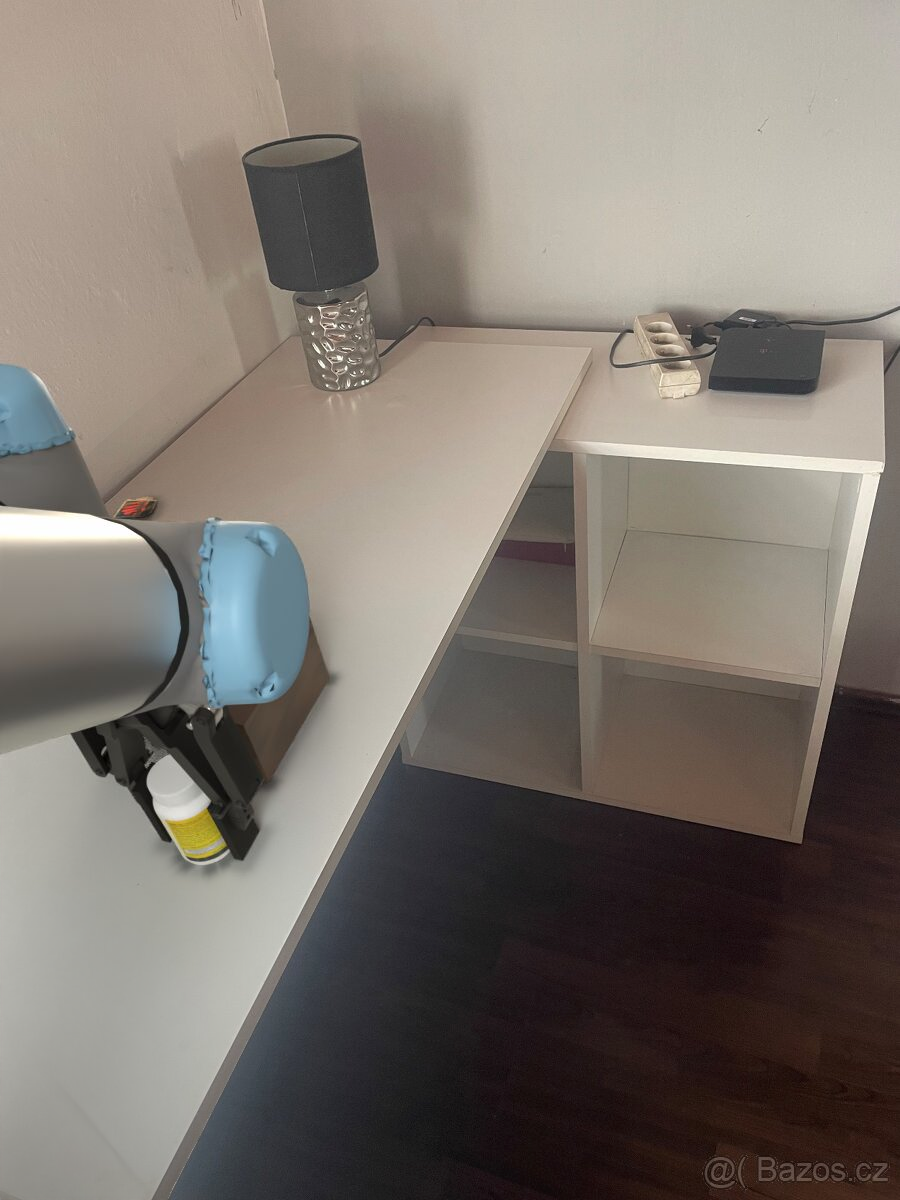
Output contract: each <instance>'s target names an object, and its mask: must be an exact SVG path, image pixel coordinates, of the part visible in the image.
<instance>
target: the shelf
mask: <svg viewBox="0 0 900 1200" xmlns="http://www.w3.org/2000/svg"><path fill="white" fill-rule="evenodd" d="M329 680H330V673H329V671H328V669H327V666H326V662H325V659H324V656H323V652H322V650H321V646H320V643H319V641H318V638H317V634H316V632H315V628H314V625H313V622H312V619H311V616H310V614H309V635H308V641H307V647H306V652H305V656H304V660H303V663H302V666H301V669H300V671H299V674H298V676H297V677H296V679H295V681H294V682H293V684H292V685H291V687H290V688H289V689H288V690H287V691H286V692H285V693H284V694H283V695H282V696H281V697H279V698H278V699H275V700H273V701H270V702H267V703H258V704H237V705H229V713H230V715H231V717H232V718H233V720H234V722H235V724H236V726H237V728H238V730H239V732H240V734H241V735H242V737H243V739H244V741H245V743H246V745H247V747H248V749H249V751H250V753H251V754H252V756H253V758H254V760H255V762H256V764H257V766H258V768H259V770H260V771H261V773H262V775H263V777H264V781H263V782H265V783H270V781H271V779H272V778H273V776H274V774H275V772H276V771H277V769H278V767H279V765H280V764H281V762H282V761H283V758H284V757H285V755H286V754H287V752H288V750H289V748H290V747H291V745H292V744H293V741H294V740H295V738H296V737H297V735H298V733H299V731H300V729H301V728H302V726H303V724H304V722H305V721H306V720H307V717H308V716H309V714H310V712H311V711H312V709H313V707H314V705H315V704H316V702H317V701H318V698H319V697H320V695H321V693H322V692H323V690H324V689H325V687H326V685H327V683H328V682H329Z"/></svg>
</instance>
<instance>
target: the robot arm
mask: <svg viewBox="0 0 900 1200" xmlns="http://www.w3.org/2000/svg"><path fill="white" fill-rule="evenodd" d="M76 437H77V435H76V433H75V430H74V429H73V428H71V427H70V426H69V425H68V423H67V421H66V420H65V418H64V416H63V414H62V413H61V411H60V410H59V408H58V406H57V404H56V402H55V401H54V398H53V397H52V396H51V393H50V392H49V390H48V387H47V386H46V384H45V383H44V381H43V380H42V379H41V378H40V377H39V376H38V375H37V374H36V373H35V372H33V371H31V370H30V369H27V368H25V367H22V366H19V365H15V364H8V363H0V756H1V755H4V754H9V753H11V752H14V751H18V750H21V749H25V748H28V747H31V746H34V745H37V744H40V743H44V742H47V741H50V740H53V739H57V738H60V737H64V736H67V735H70V736H71V737H72V739H73V741H74V743H75V745H76V746H77V748H78V749H79V752H80V753H81V754H82V756H83V758H84V760H85V761H86V763H87V765H88V766H89V768H90V769H91V772H93V774H95V776H97V777H100V778H107V776H108V775H112V776H113V777H114V780H115V782H116V783H117V784H118V785H119V786H122V787H124V788H127V789H128V791H129V793H130V795H131V796H132V797H133V799H134V801H135V802H136V804H137V805H139V807H141V809H142V811H143V813H144V814H145V816H146V817H147V819H148V820H149V822H150V824H151V825H152V827H153V828H154V830H155V831H156V833H157V834H158V836H159V838H160V840H161V841H163V842H166V843H171V842H173V840H172V838H171V837H170V835H169V833H168V832H167V830H166V828H165V827H164V825H163V823H162V822H161V820H160V818H159V817H158V815H157V814H156V812H155V810H154V806H153V797H152V795H151V793H150V791H149V789H148V787H147V776H148V773H149V771H150V770H151V768H152V767H153V766H154V765H155V764H156V763H157V762H155V761H154V762H153V761H150V763H149V765H148V766H146V764H147V763H148V761H149V760H150V759H151V757H152V756H153V755H154V753H155V752H154V751H153V750H152V751H151V749H149V748H147V746H146V741H145V739H146V740H147V741H148V742H149V743H150V745H152V747H153V748H154V749H157V750H165V751H166V752H167V753H168V755H169V754H170V755H171V756H172V757H173V758H174V760H175V761H176V762H177V763H178V764H179V765H180V766H181V767H182V769H183V770H184V771H185V772H186V773H187V774H188V775H189V777H190V778H191V779H192V780H193V781H194V782H195V783H196V784H197V786H198V787H199V788H200V789H201V790H202V791H203V792H204V793H205V795H206V796H207V797H208V798H209V799H210V800H211V802H210V804H209V806H208V807H207V810H208V812H209V814H210V815H211V817H212V819H213V821H214V823H215V825H216V826H217V828H218V830H219V832H220V834H221V836H222V837H223V839H224V841H225V843H226V845H227V847H228V848H229V850H230V852H229V853H230V854H231V856H232V857H233V859H234V860H237V861H242V862H243V861H244V860H245V858H246V856H247V854H248V853H249V850H250V849H251V848H252V846H253V844H254V842H255V840H256V838H257V837H258V834H259V833H260V828H259V827H258V825H257V823H256V820H255V819H254V816H255V810H254V808H253V806H252V804H251V803H252V802H253V800H254V798H255V796H256V795H257V793H258V791H259V790H260V788H261V786H262V784H263V783H264V782H265V781H264V777H263V775H262V773H261V771H260V770H259V768H258V766H257V764H256V762H255V760H254V758H253V756H252V754H251V753H250V751H249V749H248V747H247V745H246V743H245V741H244V739H243V737H242V735H241V734H240V732H239V730H238V728H237V726H236V724H235V722H234V720H233V718H232V717H231V715H230V713H229V705H237V704H258V703H267V702H270V701H273V700H275V699H278V698H279V697H281V696H282V695H283V694H284V693H285V692H286V691H287V690H288V689H289V688H290V687H291V685H292V684H293V682H294V681H295V679H296V677H297V676H298V674H299V671H300V669H301V666H302V663H303V660H304V656H305V652H306V647H307V641H308V635H309V615H310V611H311V610H310V595H309V584H308V578H307V573H306V570H305V566H304V563H303V559H302V557H301V554H300V552H299V550H298V548H297V546H296V545H295V543H294V542H293V540H292V539H291V537H290V536H288V534H287V533H286V532H285V531H284V530H283V529H282V528H280V527H279V526H278V525H275V524H272V523H269V522H266V521H252V520H251V521H250V520H249V521H245V520H223V519H221V518H220V517H217V516H216V517H206V519H205V520H190V521H189V520H187V521H186V520H185V521H182V520H181V521H171V520H170V521H169V520H167V521H159V520H146V519H135V518H127V517H123V518H122V517H120V518H117V517H116V518H115V517H113V516H110V514H109V511H108V509H107V507H106V505H105V503H104V501H103V498H102V496H101V494H100V491H99V489H98V487H97V485H96V483H95V480H94V478H93V475H92V473H91V471H90V470H89V467H88V465H87V463H86V461H85V458H84V456H83V454H82V451H81V450H80V447H79V445H78V443H77V440H76ZM104 749H105V750H104ZM103 750H104V751H103Z"/></svg>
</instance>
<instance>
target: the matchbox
mask: <svg viewBox="0 0 900 1200" xmlns="http://www.w3.org/2000/svg"><path fill="white" fill-rule="evenodd" d="M156 506H157V499H154V496H150V495H147V496H142V497H137V498H136V499H130V498H129V499H125V500H124V502H123V503H122V504H121V505H120V508H116V511H117V512H116V513H115V514H114V515H112V517H115V518H143V517H148V516H150V515H151V514H152V512H153V510H154V509H155V507H156Z"/></svg>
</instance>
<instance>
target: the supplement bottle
mask: <svg viewBox="0 0 900 1200" xmlns="http://www.w3.org/2000/svg"><path fill="white" fill-rule="evenodd" d="M155 763H156V764H155V765H154V766H153V767H152V768H151V770H150V771H149V773H148V776H147V787H148V789H149V791H150V793H151V795H152V797H153V806H154V810H155V812H156V814H157V815H158V817H159V818H160V820H161V822H162V823H163V825H164V827H165V828H166V830H167V832H168V833H169V835H170V837H171V838H172V842H173V843H174V845H175V847H176V848H177V850H178V852H179V853H180V855H181V857H182V858H183V859H184V860H185V861H187V862H189V863H191V864H193V865H196V866H197V865H198V866H207V865H212V864H214V863H217V862H218V861H220V860H222V859H223V858H225V857H226V856H228V855H229V853H231V852H230V850H229V848H228V847H227V845H226V843H225V841H224V839H223V837H222V836H221V834H220V832H219V830H218V828H217V826H216V825H215V823H214V821H213V819H212V817H211V815H210V814H209V812H208V810H207V807H208V806H209V804H210V802H211V800H210V799H209V798H208V797H207V796H206V795H205V793H204V792H203V791H202V790H201V789H200V788H199V787H198V786H197V784H196V783H195V782H194V781H193V780H192V779H191V778H190V777H189V775H188V774H187V773H186V772H185V771H184V770H183V769H182V767H181V766H180V765H179V764H178V763H177V762H176V761H175V760H174V758H173V757H172V756H171V755H170V754H169V753H168V754H167V755H165V756H163V757H162V758H160V759H159V760H157V761H156V762H155Z"/></svg>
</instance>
